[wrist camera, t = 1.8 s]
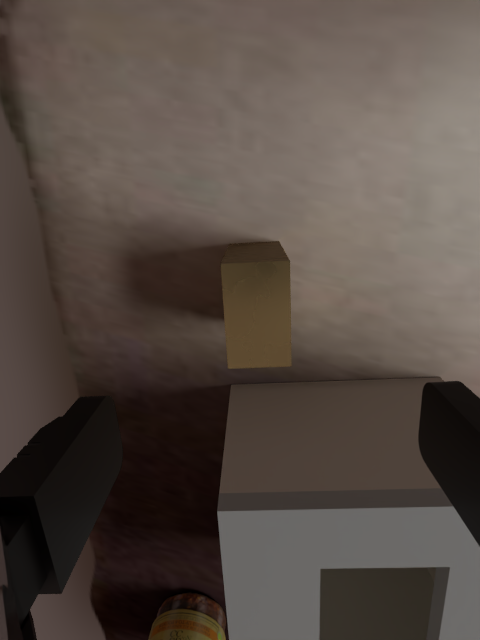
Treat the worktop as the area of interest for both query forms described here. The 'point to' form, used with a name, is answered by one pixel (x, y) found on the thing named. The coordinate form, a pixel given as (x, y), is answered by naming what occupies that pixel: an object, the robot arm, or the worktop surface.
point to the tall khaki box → (257, 305)
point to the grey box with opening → (339, 518)
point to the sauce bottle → (189, 619)
